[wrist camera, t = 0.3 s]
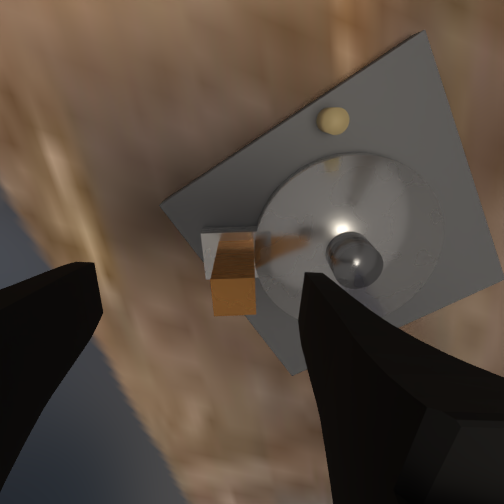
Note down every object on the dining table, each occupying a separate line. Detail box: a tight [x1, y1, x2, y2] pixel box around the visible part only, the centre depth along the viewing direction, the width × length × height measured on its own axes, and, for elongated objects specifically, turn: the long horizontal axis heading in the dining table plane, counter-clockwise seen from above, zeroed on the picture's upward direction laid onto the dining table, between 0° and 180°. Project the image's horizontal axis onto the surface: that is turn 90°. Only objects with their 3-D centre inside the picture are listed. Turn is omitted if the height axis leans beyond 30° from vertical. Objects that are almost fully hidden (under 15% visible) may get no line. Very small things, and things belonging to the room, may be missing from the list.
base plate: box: [159, 30, 504, 376], centre depth 19 cm, size 16×16×3 cm
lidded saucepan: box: [201, 152, 444, 319], centre depth 17 cm, size 14×11×5 cm
